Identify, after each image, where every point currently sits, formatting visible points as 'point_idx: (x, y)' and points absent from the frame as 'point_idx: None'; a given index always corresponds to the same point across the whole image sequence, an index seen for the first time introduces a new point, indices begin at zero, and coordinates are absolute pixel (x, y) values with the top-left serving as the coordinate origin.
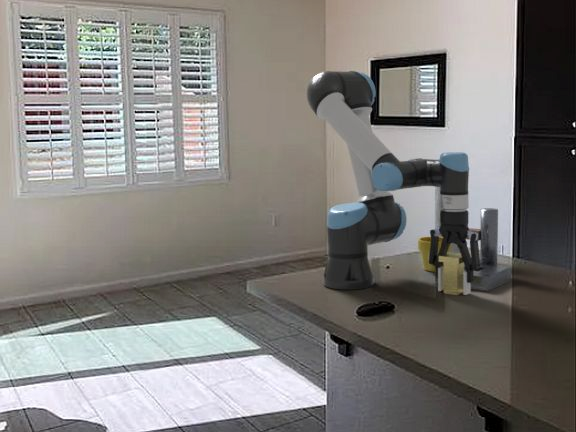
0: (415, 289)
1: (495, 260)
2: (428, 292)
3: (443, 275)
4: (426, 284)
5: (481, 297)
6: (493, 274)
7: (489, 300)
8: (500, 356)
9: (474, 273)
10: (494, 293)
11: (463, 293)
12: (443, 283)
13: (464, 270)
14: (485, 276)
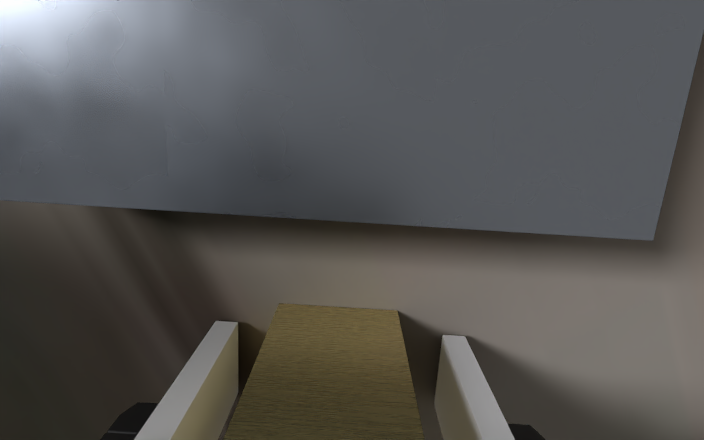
0: (44, 409)
1: None
2: None
3: (192, 437)
4: (15, 234)
5: (569, 380)
6: (697, 45)
7: (643, 422)
8: None
9: (447, 121)
10: None
11: (436, 410)
12: (222, 382)
13: (258, 12)
14: (621, 207)
